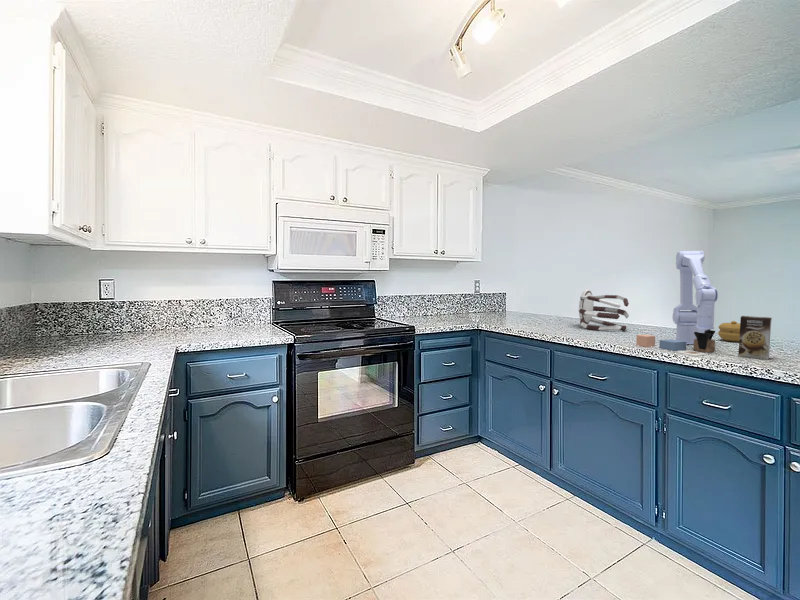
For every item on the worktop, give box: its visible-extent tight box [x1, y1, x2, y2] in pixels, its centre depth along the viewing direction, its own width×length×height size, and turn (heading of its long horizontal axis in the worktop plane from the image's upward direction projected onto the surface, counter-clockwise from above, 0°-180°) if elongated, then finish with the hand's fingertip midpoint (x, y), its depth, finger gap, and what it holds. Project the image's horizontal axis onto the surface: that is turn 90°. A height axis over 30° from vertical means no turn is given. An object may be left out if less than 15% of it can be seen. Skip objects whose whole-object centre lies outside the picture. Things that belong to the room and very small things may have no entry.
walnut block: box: [693, 339, 716, 353], centre depth 172 cm, size 5×5×5 cm
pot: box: [717, 320, 740, 343], centre depth 196 cm, size 12×12×10 cm
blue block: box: [659, 338, 687, 352], centre depth 177 cm, size 7×7×4 cm
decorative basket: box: [578, 288, 630, 332], centre depth 245 cm, size 24×27×35 cm
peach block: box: [635, 334, 656, 348], centre depth 185 cm, size 5×5×5 cm
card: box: [675, 350, 709, 357], centre depth 167 cm, size 8×8×1 cm
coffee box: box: [737, 315, 773, 360], centre depth 159 cm, size 9×6×16 cm
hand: (704, 347), depth 172 cm, fingers closed on walnut block, 7 cm apart
